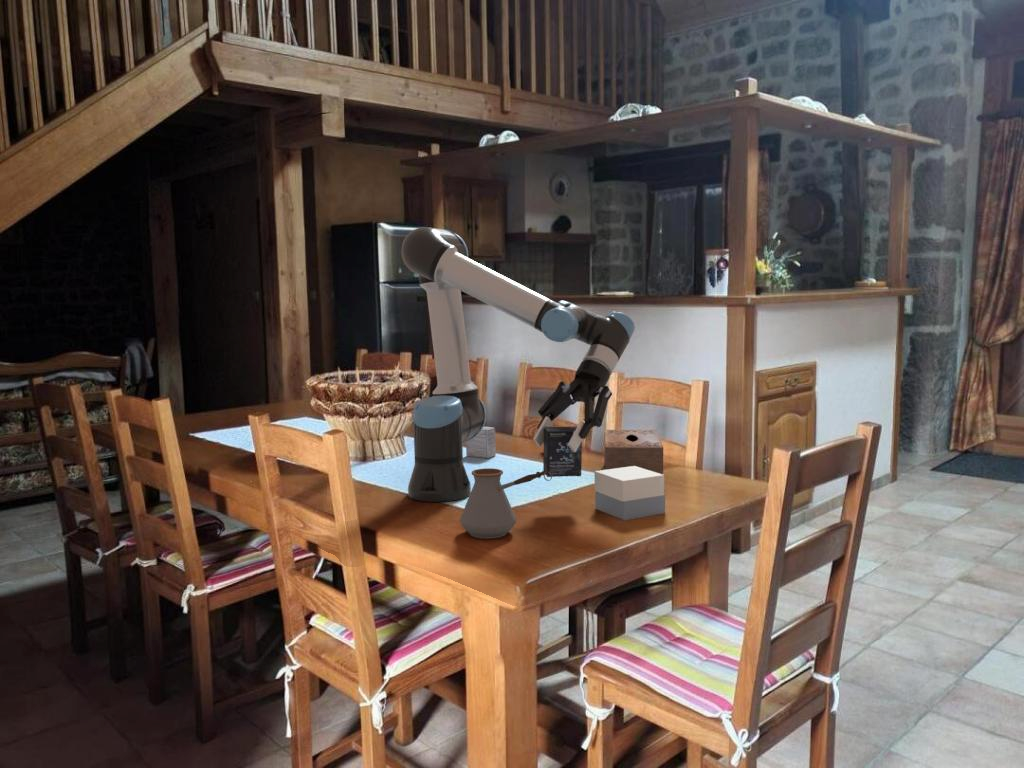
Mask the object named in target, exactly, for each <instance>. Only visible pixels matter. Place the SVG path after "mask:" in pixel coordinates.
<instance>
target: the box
mask: <svg viewBox="0 0 1024 768" xmlns="http://www.w3.org/2000/svg"><path fill="white" fill-rule="evenodd" d="M577 427H578V425H577V426H576V425H573V426H556V427H544V442H543V460H542V461H543V467H542V471H548V472H550V473H551V475H552V478H555V477H559V478H560V477H581V476H582V461H583V460H582V458H583V457H582V455H583V449H582V448H583V440H582V441H581V443H580V445H579V447H578V449H577V451H576V452H573V451H572V450H571V449H570V447H569V446H568V443H569V441H570V439H571V438H572V436H573V434H574V432H575V430H576V428H577ZM550 473H547V474H546V475H545V477H546V478H551V475H550Z"/></svg>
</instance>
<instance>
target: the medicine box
mask: <svg viewBox="0 0 1024 768" xmlns="http://www.w3.org/2000/svg"><path fill="white" fill-rule="evenodd" d="M465 449H466V450H465V451H466V452H465V454H466V455H465V456H466V457H473V458H482V459H483V458H484V459H490V458H493V457H496V455H497V454H496V453H497V452H496V451H497V449H496V428H495V427H493V426H492V427H491V426H484V427H483V429H482V430H481V431H480V432H479V433H478V434H477V435H476V436H475V437H474V438H472V439H470V440H468V441H465Z"/></svg>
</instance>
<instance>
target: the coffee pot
mask: <svg viewBox="0 0 1024 768" xmlns="http://www.w3.org/2000/svg"><path fill="white" fill-rule="evenodd" d="M547 473H550V472H548V471H543V470H542V471H541V472H540V471H536V472H535V473H532V474H527V475H525V476H523V477H520V478H518V479H516V480H513V481H511V482H506V483H504V484H502V483H501V476H502V475H503V474H504V471H503V470H502V469H498V468H489V467H487V468H479V469H478V468H477V469H474V470H472V471H471V475H472V476H473V479H474V484H473V486H472V487H471V488H472V489H471V493H470V495H469V496H468V498H467V500H466V503H465V506H464V509H463V511H462V513H461V515H460V519H459V523H460V526H461V527H462V528H463V530H465V531H466V533H469V535H470V536H471V537H474V538H476V539H477V538H478V539H497V538H498V539H499V538H502V537H505V536H506V535H507V534H508V532H510V531H511V530H512V528H514V527H515V524H516V521H517V517H516V515H515V512H514V511H513V508H512V506H511V502H510V501H509V499H508V497H507V494H506V492H505V489H508V488H510V487H513V486H518V485H521V484H524V483H528V482H532V481H533V480H535V479H537V478H538V479H541V478H542V476H543V478H544V480H545V481H547V482H548V481H549V482H550V481H551V480H552V478H553V477H552V475H551V473H550V475H551V477H550V479H547V477H546V474H547Z"/></svg>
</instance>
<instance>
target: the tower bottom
mask: <svg viewBox="0 0 1024 768" xmlns="http://www.w3.org/2000/svg"><path fill="white" fill-rule="evenodd" d="M594 492H595V496H594V497H595V498H594V499H595V500H594V501H595V504H594V505H595V506H594V507H595V509H596V510H598V511H601V512H602V513H605V514H608V515H611V516H613V517H615V518H618V519H620V520H623V521H627V520H633V519H641V518H645V517H650V516H656V515H662V514H665V513H666V494H664V495H662V496H656V497H649V498H643V499H636V500H630V501H624V502H623V501H620V500H617V499H615V498H612V497H610V496H607V495H604V494H602V493H599V492H596V491H595V490H594Z"/></svg>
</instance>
